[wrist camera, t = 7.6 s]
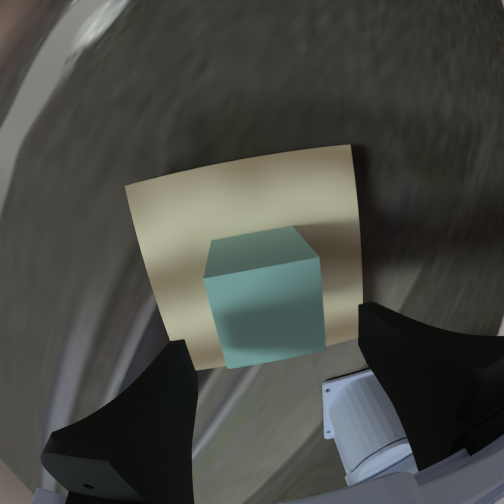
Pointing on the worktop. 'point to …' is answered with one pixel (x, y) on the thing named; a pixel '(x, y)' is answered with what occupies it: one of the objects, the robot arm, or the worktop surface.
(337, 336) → the birch base board
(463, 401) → the robot arm
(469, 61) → the worktop surface
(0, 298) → the worktop surface
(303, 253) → the teal block
